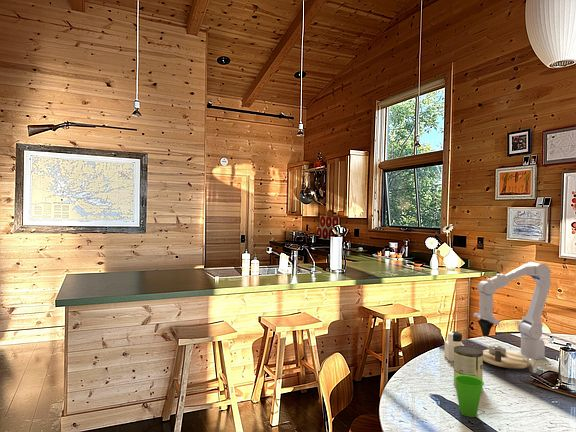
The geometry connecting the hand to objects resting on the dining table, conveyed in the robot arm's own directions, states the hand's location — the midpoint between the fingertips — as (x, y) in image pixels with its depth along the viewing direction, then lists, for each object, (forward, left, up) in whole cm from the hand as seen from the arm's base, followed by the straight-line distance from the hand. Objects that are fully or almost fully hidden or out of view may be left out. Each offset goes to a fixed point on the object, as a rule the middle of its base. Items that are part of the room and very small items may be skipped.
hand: (485, 336), depth 191 cm
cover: (-2, +5, -7) cm, 9 cm away
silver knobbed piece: (-6, +19, -9) cm, 22 cm away
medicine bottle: (+17, 0, -10) cm, 19 cm away
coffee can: (+31, +28, -10) cm, 43 cm away
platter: (-2, +9, -8) cm, 13 cm away
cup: (+45, +47, -10) cm, 66 cm away
